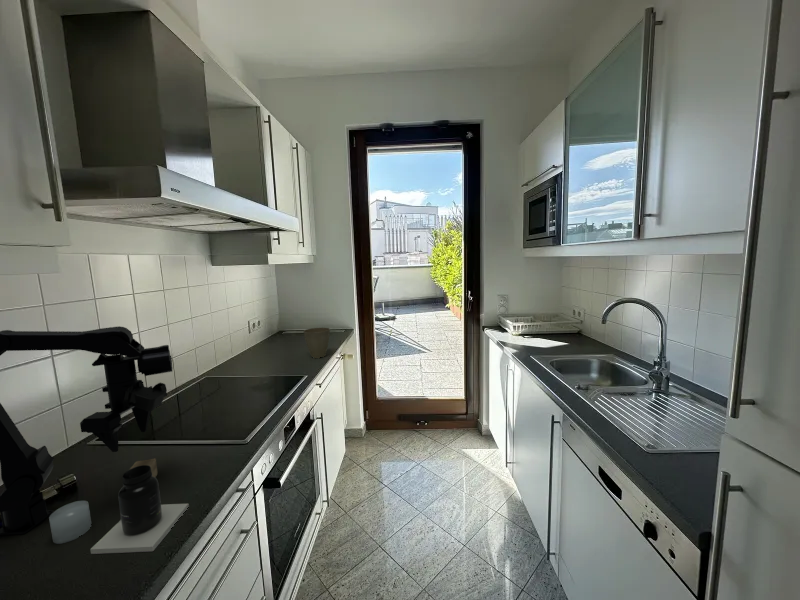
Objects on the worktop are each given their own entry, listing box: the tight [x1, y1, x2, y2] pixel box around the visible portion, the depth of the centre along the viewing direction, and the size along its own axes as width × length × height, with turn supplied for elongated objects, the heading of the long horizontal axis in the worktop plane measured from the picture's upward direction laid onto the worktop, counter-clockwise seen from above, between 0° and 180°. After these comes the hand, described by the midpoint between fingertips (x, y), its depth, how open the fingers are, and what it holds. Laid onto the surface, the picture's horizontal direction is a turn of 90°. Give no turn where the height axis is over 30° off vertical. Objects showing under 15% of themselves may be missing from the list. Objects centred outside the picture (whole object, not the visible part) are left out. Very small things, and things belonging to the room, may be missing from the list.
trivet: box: [90, 503, 190, 555], centre depth 74 cm, size 12×12×1 cm
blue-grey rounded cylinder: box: [48, 500, 92, 545], centre depth 73 cm, size 6×6×5 cm
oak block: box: [129, 458, 158, 478], centre depth 90 cm, size 4×4×4 cm
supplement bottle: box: [117, 465, 162, 535], centre depth 73 cm, size 7×7×12 cm
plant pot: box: [303, 327, 331, 359], centre depth 200 cm, size 15×15×16 cm
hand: (130, 441), depth 85 cm, fingers open, 9 cm apart
